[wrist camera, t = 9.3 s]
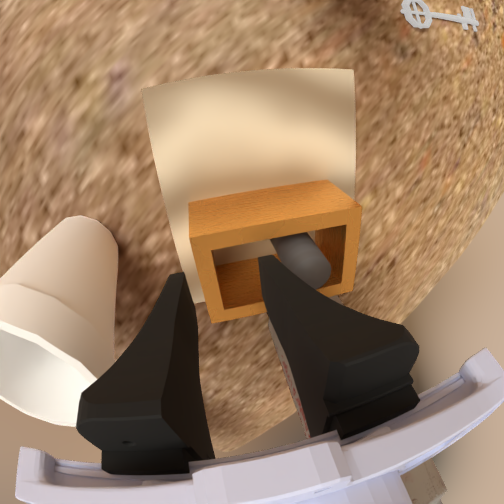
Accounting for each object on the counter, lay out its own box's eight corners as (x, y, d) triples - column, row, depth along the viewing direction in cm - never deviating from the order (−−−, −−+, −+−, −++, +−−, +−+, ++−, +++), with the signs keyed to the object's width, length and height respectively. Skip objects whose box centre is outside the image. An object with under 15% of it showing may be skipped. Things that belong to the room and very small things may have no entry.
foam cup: (31, 193, 17) (-66, 301, 6) (138, 200, 20) (93, 335, 9) (46, 290, 22) (0, 408, 11) (136, 300, 24) (123, 435, 14)
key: (392, -6, 14) (402, 28, 16) (399, -7, 13) (410, 27, 15) (470, 9, 14) (476, 36, 16) (476, 9, 13) (483, 36, 15)
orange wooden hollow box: (205, 278, 23) (211, 323, 19) (188, 202, 19) (188, 238, 15) (325, 253, 24) (352, 290, 20) (327, 179, 20) (362, 206, 16)
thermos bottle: (275, 349, 32) (357, 583, 8) (260, 301, 27) (368, 606, 4) (340, 326, 32) (447, 540, 9) (338, 275, 28) (489, 539, 4)
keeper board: (341, 260, 27) (381, 314, 20) (191, 292, 25) (197, 360, 19) (343, 69, 17) (409, 71, 11) (144, 89, 16) (117, 89, 10)
